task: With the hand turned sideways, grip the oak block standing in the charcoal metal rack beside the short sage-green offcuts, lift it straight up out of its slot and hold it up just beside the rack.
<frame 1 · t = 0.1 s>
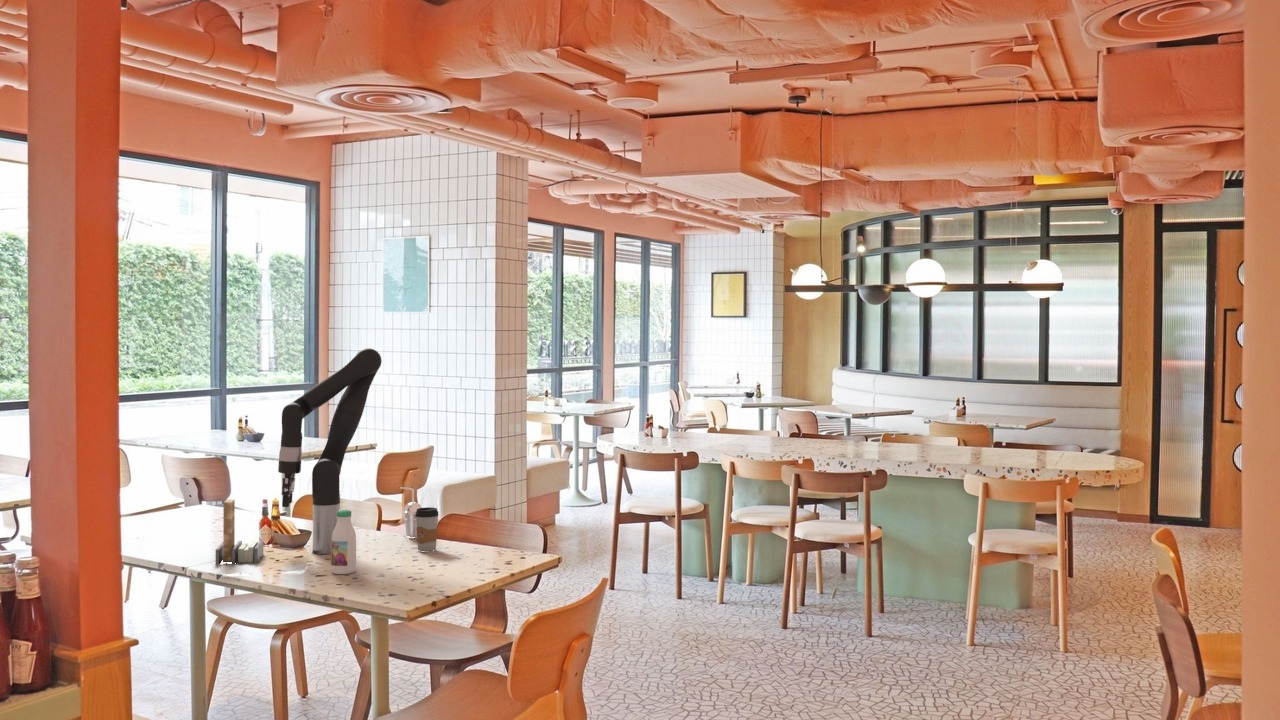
hand: (287, 505, 343), 17 cm above the table, tool pointing down, fingers open, 8 cm apart
sheet rack: (240, 562, 328), on the table
coffee cup: (426, 551, 350), on the table
oak block: (228, 560, 327), point 1 cm above the table, touching sheet rack
cup with straw: (412, 538, 373), on the table
offcut stack: (247, 559, 329), point 1 cm above the table, touching sheet rack
milk bottle: (343, 572, 315), on the table
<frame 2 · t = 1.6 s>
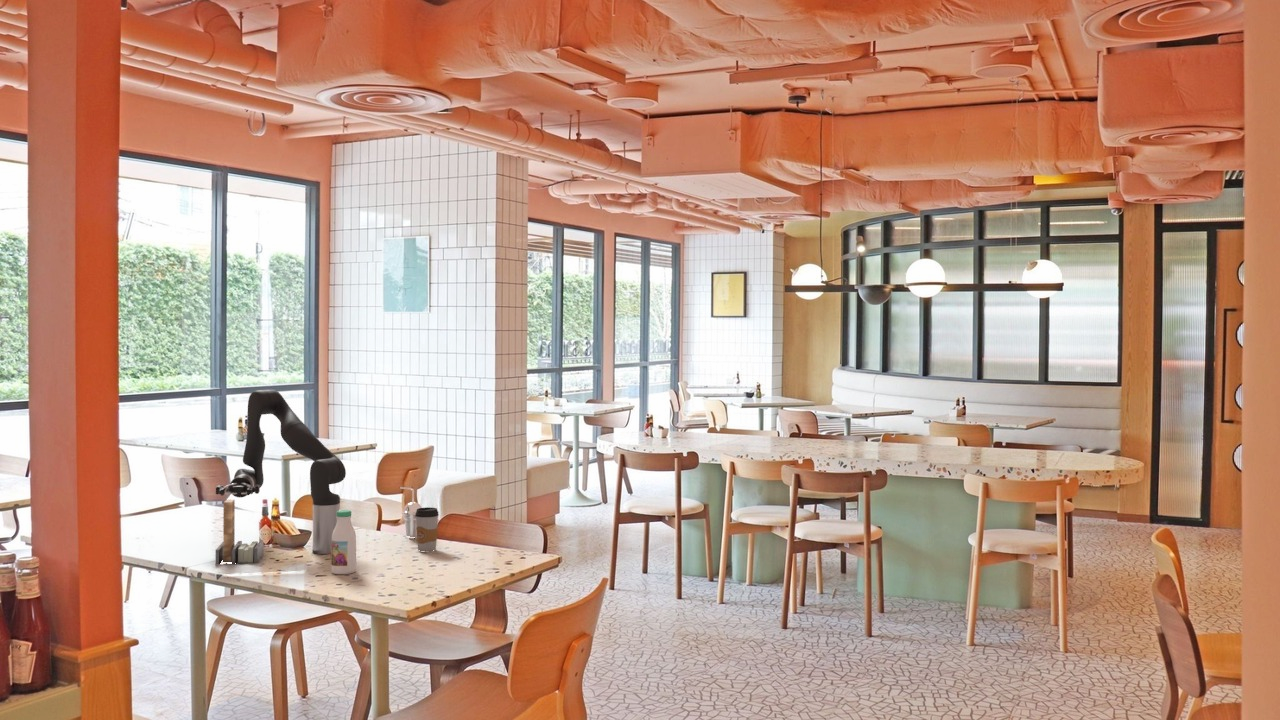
hand: (235, 492, 339), 22 cm above the table, tool horizontal, fingers open, 8 cm apart
nothing on the table moved.
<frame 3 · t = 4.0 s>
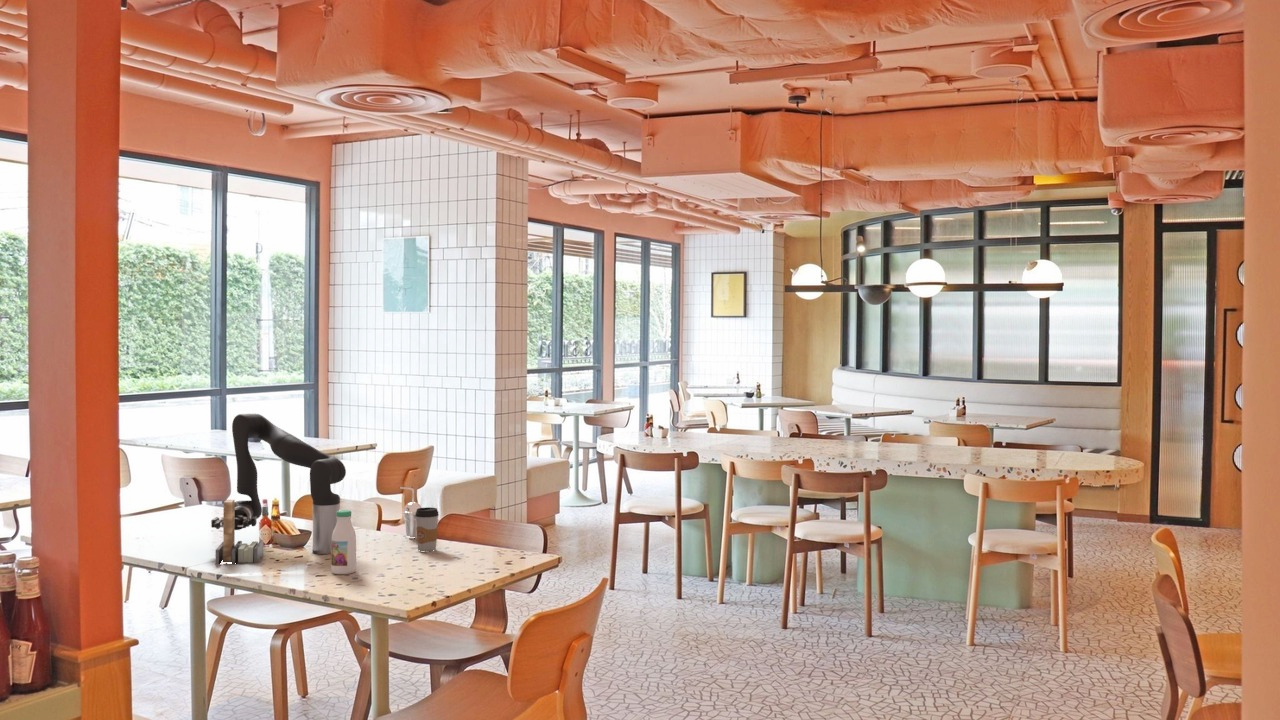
hand: (230, 525, 331), 12 cm above the table, tool horizontal, fingers open, 8 cm apart
nothing on the table moved.
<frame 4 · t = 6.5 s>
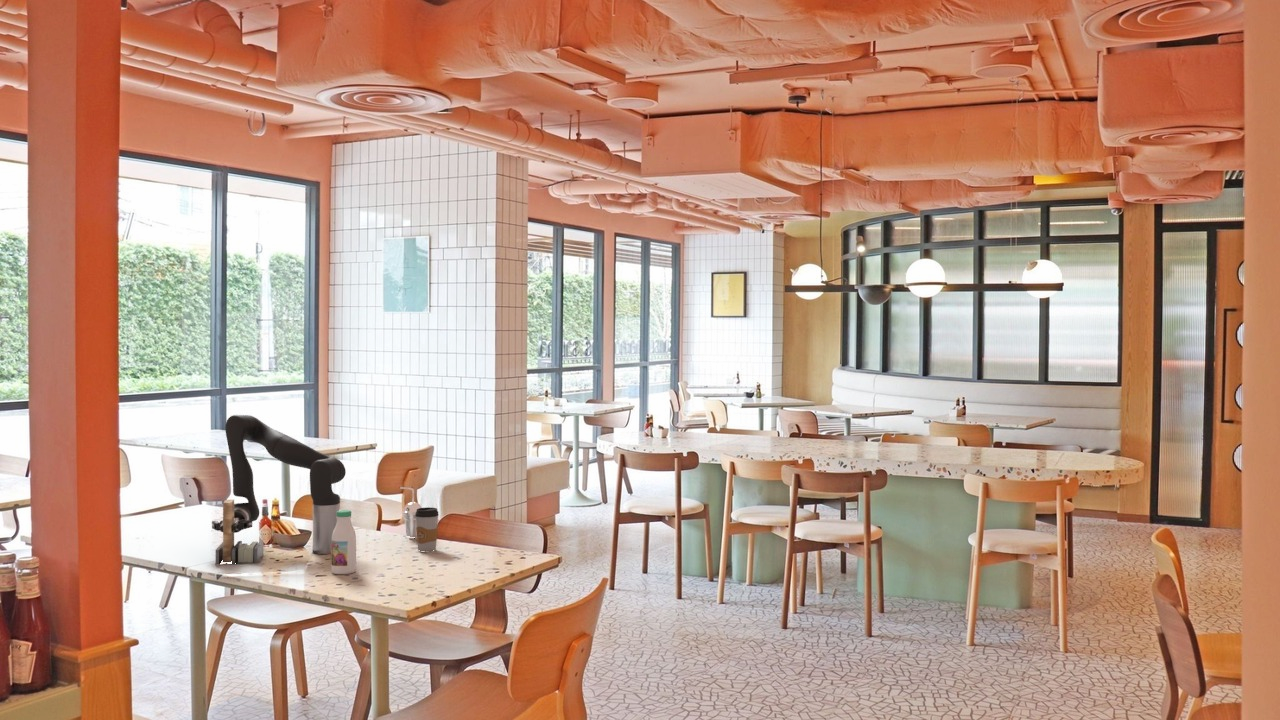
hand: (227, 528, 325), 12 cm above the table, tool horizontal, fingers closed on oak block, 2 cm apart
oak block: (228, 560, 327), point 1 cm above the table, touching gripper, sheet rack
everything else where it was.
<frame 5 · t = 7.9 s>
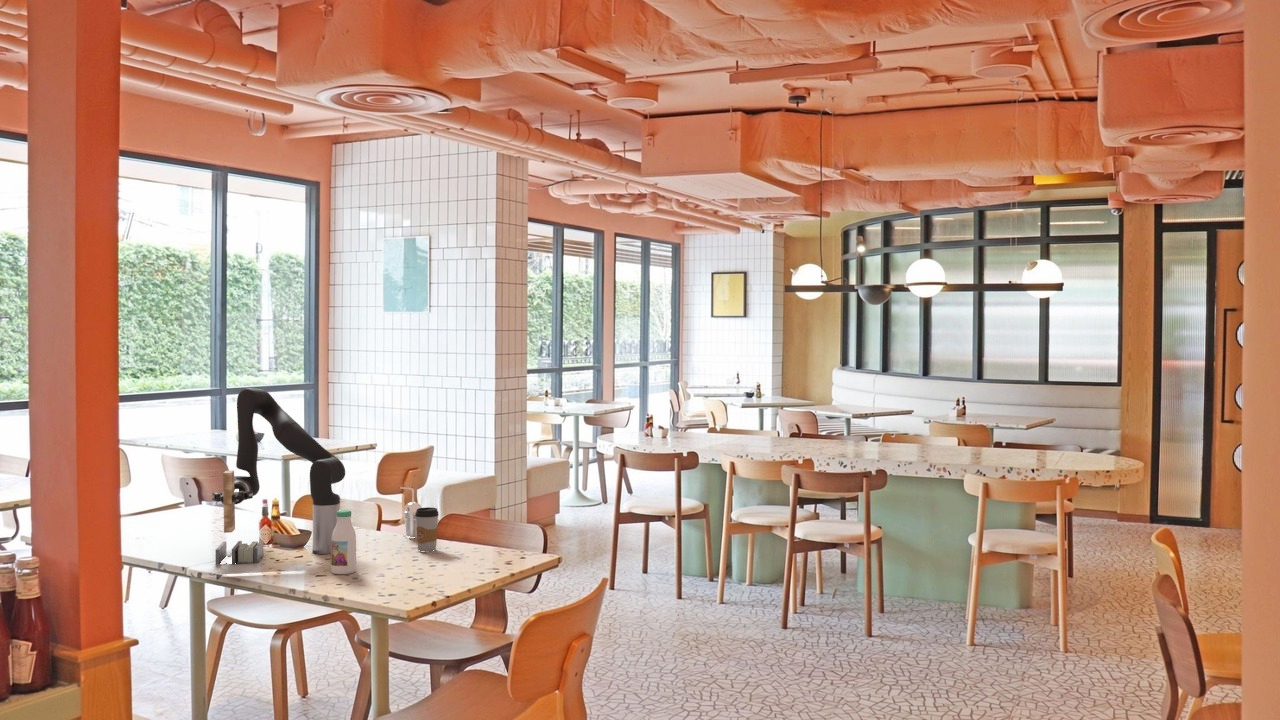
hand: (227, 499, 324), 22 cm above the table, tool horizontal, fingers closed on oak block, 2 cm apart
oak block: (229, 530, 327), point 11 cm above the table, touching gripper
everything else where it was.
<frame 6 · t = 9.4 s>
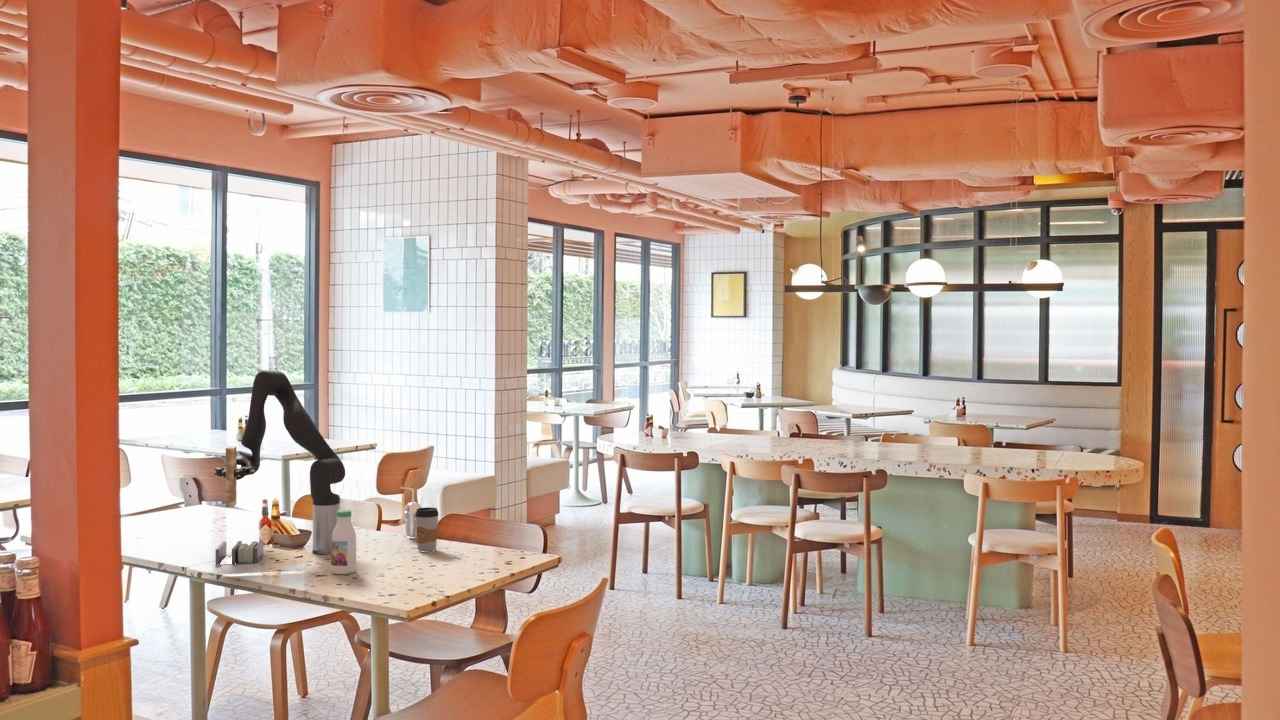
hand: (230, 474, 329), 30 cm above the table, tool horizontal, fingers closed on oak block, 2 cm apart
oak block: (231, 505, 331), point 19 cm above the table, touching gripper
everything else where it was.
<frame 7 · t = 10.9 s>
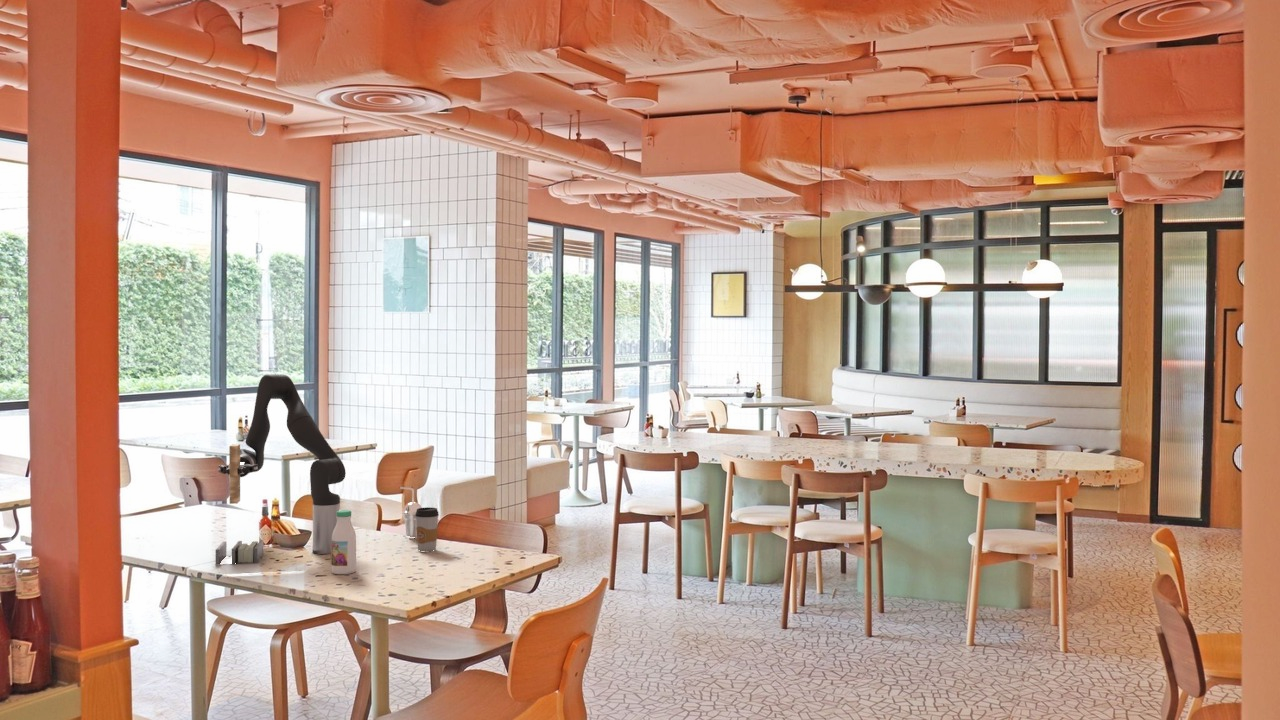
hand: (233, 471, 336), 30 cm above the table, tool horizontal, fingers closed on oak block, 2 cm apart
oak block: (234, 502, 339), point 19 cm above the table, touching gripper
everything else where it was.
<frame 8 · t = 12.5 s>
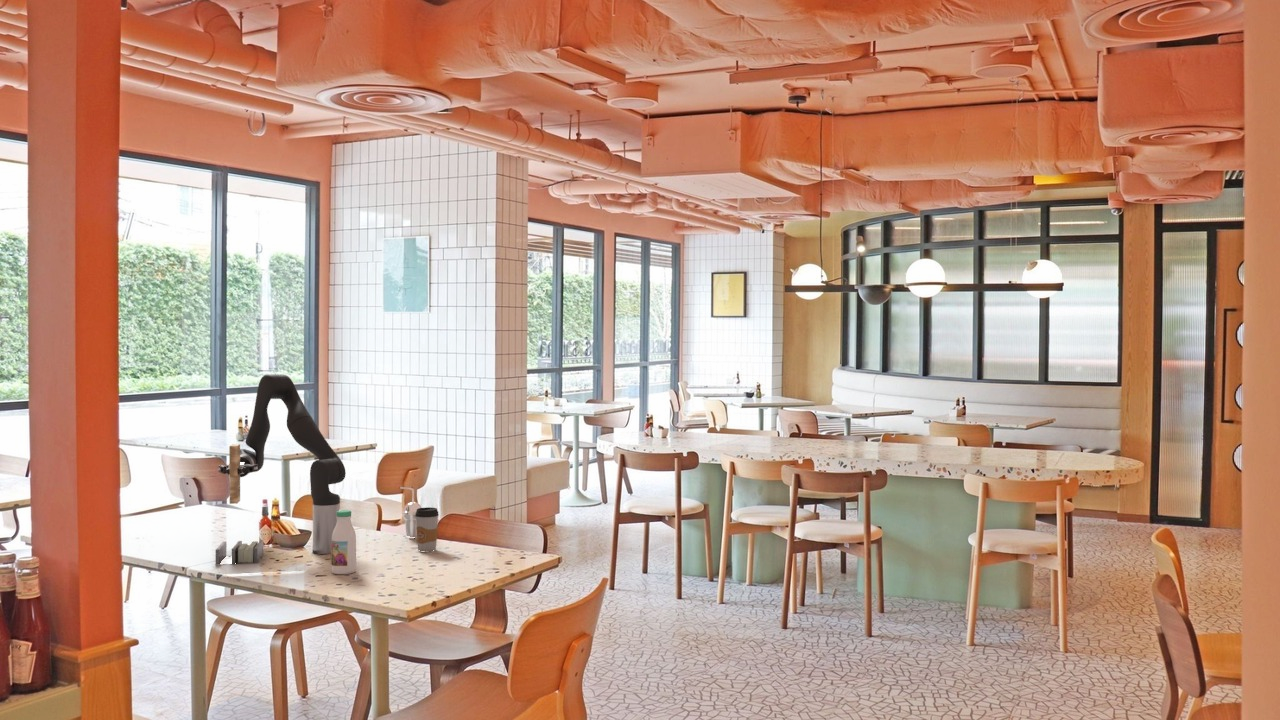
hand: (233, 471, 336), 30 cm above the table, tool horizontal, fingers closed on oak block, 2 cm apart
oak block: (234, 502, 339), point 19 cm above the table, touching gripper
everything else where it was.
at the end: the gripper is holding oak block; oak block inside the target area (0.7 cm from its centre), point 18.8 cm above the table; offcut stack moved 0.0 cm from its start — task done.
